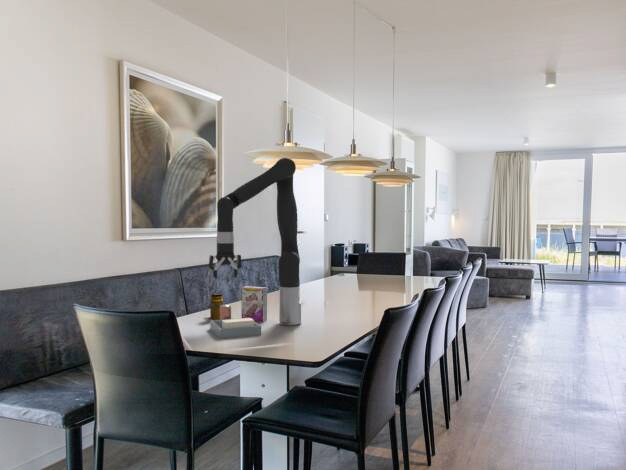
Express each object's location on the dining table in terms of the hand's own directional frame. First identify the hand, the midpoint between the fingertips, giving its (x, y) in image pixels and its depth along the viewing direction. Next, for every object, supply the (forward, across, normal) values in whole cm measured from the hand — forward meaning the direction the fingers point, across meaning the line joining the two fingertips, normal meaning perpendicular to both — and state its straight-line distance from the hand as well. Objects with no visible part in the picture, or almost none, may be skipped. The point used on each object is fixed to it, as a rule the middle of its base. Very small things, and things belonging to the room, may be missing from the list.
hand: (225, 278), depth 228 cm
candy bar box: (+22, +14, +2) cm, 26 cm away
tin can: (+21, 0, 0) cm, 21 cm away
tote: (+21, 0, -17) cm, 27 cm away
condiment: (+22, -1, +17) cm, 28 cm away
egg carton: (+20, 0, -22) cm, 30 cm away
